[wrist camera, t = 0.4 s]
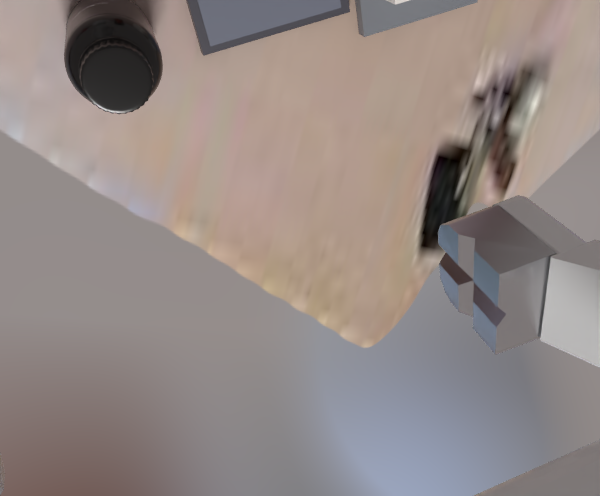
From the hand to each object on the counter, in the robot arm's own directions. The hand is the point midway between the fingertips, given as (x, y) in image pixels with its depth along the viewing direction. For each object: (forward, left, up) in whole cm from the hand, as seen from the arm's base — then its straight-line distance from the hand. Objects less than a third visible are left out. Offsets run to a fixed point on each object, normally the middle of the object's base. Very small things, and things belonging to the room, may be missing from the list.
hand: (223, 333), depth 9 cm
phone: (+6, +12, -45) cm, 47 cm away
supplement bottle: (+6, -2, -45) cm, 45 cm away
